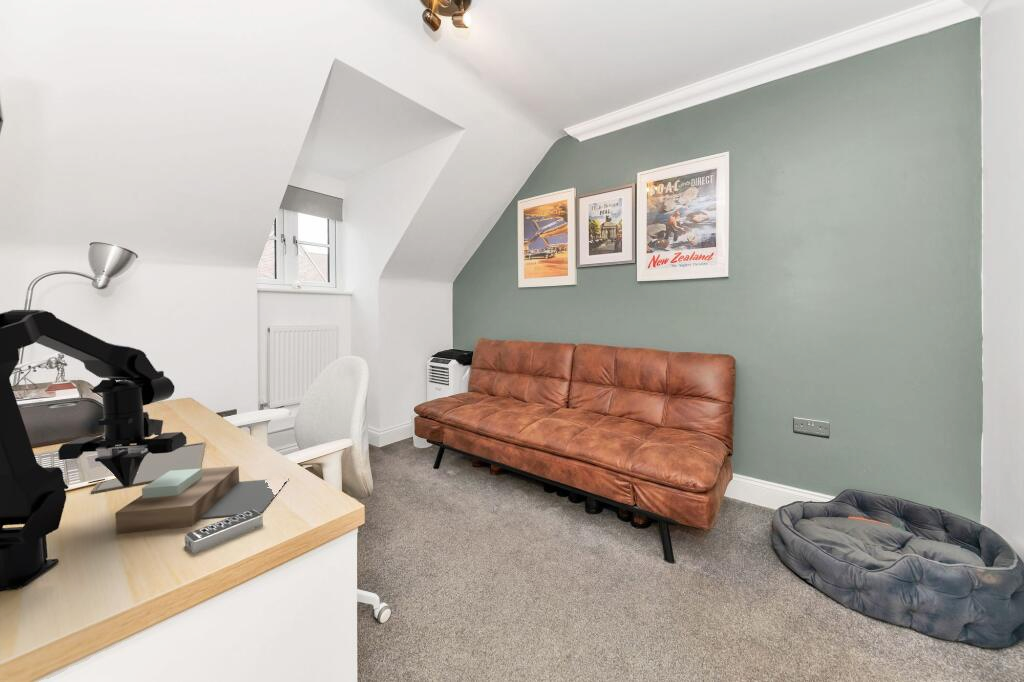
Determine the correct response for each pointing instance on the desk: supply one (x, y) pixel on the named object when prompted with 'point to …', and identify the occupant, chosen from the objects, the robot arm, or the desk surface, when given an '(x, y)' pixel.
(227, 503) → the mat
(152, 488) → the block
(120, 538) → the desk surface
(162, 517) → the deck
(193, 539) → the multiport hub
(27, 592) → the desk surface
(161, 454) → the thin grey panel
